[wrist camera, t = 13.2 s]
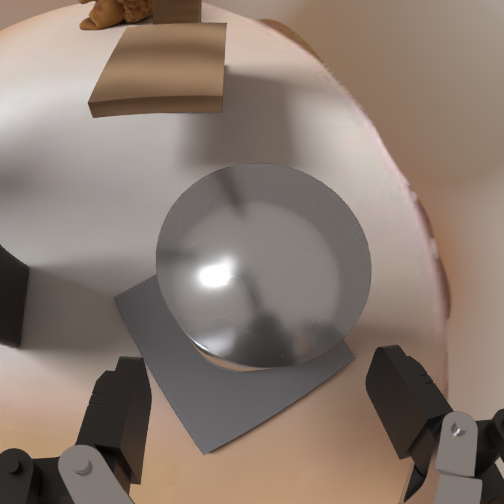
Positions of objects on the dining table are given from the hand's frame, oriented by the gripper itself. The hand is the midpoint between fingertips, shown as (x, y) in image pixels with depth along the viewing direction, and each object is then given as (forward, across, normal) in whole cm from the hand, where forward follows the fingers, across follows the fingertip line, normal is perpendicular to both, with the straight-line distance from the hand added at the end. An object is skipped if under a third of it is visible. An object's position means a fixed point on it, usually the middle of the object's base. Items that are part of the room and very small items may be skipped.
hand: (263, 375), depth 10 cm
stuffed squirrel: (+41, +17, -26) cm, 51 cm away
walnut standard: (+24, +6, -10) cm, 26 cm away
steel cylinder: (+9, 0, +5) cm, 10 cm away
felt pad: (+9, 0, +5) cm, 11 cm away
